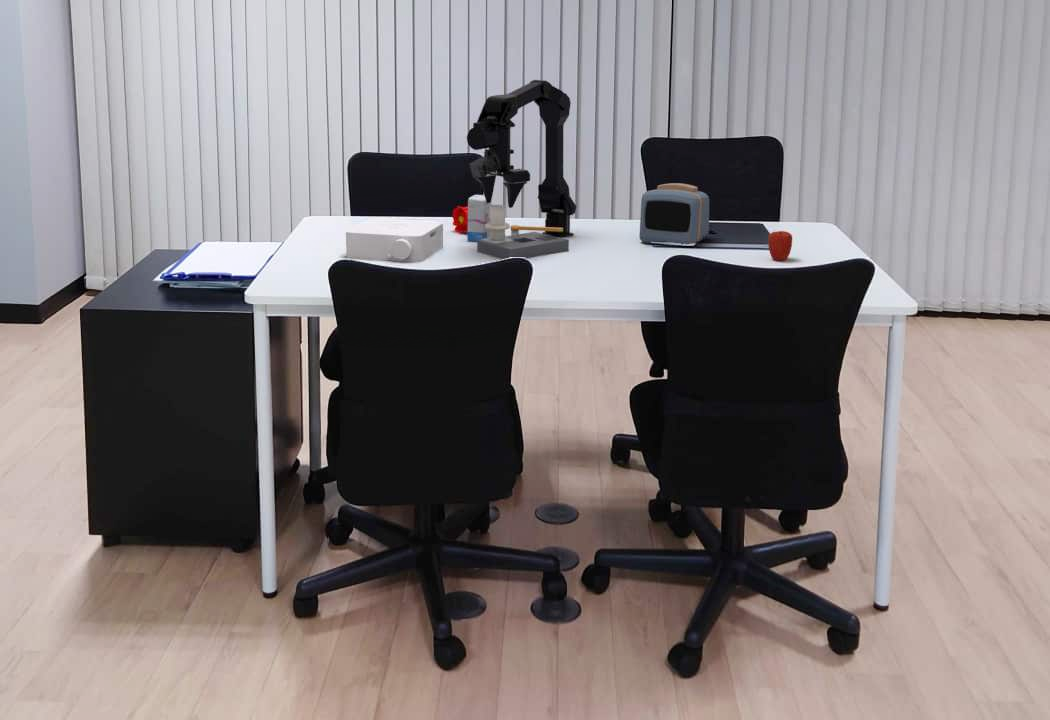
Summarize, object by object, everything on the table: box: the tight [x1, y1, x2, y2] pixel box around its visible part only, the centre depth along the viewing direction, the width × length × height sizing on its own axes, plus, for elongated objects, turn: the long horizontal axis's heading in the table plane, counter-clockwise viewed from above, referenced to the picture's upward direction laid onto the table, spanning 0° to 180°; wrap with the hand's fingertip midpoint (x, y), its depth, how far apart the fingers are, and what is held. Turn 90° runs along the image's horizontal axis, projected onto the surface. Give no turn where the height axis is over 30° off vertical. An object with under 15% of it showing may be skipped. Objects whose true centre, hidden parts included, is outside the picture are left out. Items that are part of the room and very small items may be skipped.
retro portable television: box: [639, 182, 710, 245], centre depth 375 cm, size 16×16×16 cm
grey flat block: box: [476, 229, 570, 260], centre depth 362 cm, size 20×15×4 cm
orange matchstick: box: [510, 224, 563, 232], centre depth 367 cm, size 14×2×1 cm, turn 80°
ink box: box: [467, 194, 492, 243], centre depth 376 cm, size 9×5×12 cm, turn 168°
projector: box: [345, 217, 444, 263], centre depth 359 cm, size 21×22×7 cm
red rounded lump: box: [767, 230, 793, 262], centre depth 354 cm, size 6×6×8 cm
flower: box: [452, 205, 468, 234], centre depth 387 cm, size 8×8×8 cm
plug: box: [485, 204, 511, 241], centre depth 360 cm, size 6×6×9 cm
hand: (499, 205), depth 359 cm, fingers open, 9 cm apart
